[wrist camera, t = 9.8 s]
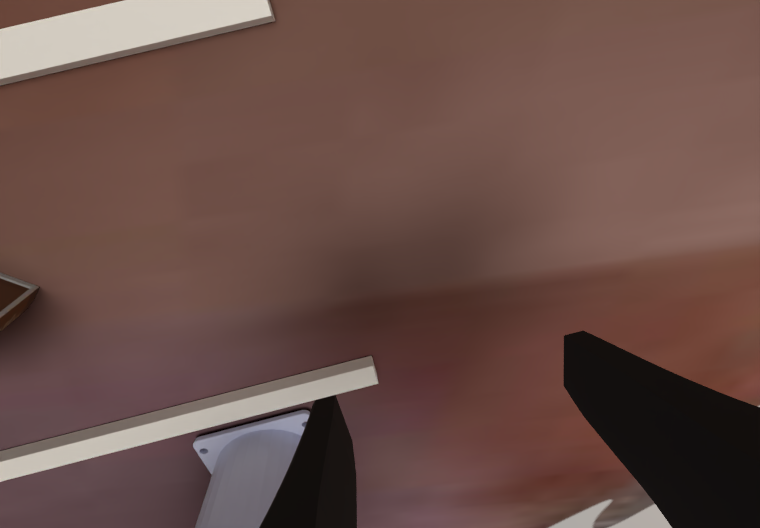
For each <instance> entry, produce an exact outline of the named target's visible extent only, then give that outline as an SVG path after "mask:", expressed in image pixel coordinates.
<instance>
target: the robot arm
mask: <svg viewBox="0 0 760 528" xmlns="http://www.w3.org/2000/svg"><path fill="white" fill-rule="evenodd" d="M564 387H565V388H566V390H567V391H568V393H569V395H570V396H571V398H572V399H573V401H574V402H575V404H576V405H577V407H578V408H579V410H580V411H581V413H582V414H583V416H584V417H585V418H586V420H587V421H588V422H589V423H590V425H591V426H592V427H593V428H594V429H595V431H596V432H597V433H598V434H599V436H600V437H601V438H602V439H603V440H604V442H605V443H606V444H607V445H608V446H609V448H610V449H611V450H612V451H613V452H614V454H615V455H616V456H617V457H618V458H619V460H620V461H621V462H622V463H623V464H624V466H625V467H626V468H627V469H628V470H629V472H630V473H631V474H632V475H633V476H634V478H635V479H636V480H637V481H638V482H639V484H640V485H641V486H642V487H643V489H644V490H645V491H646V492H647V494H648V495H649V496H650V498H651V499H652V500H653V501H654V503H655V504H656V505H657V507H658V508H659V510H660V511H661V512H662V514H663V515H664V517H665V518H666V519H667V521H668V522H669V524H670V525H671V526H672V528H760V407H757V406H754V405H751V404H748V403H746V402H743V401H740V400H737V399H735V398H732V397H730V396H727V395H724V394H722V393H719V392H717V391H714V390H712V389H710V388H707V387H705V386H702V385H700V384H698V383H695V382H693V381H690V380H688V379H686V378H683V377H681V376H679V375H677V374H674V373H672V372H670V371H668V370H665V369H663V368H661V367H659V366H657V365H655V364H652V363H650V362H648V361H646V360H644V359H642V358H640V357H638V356H635V355H633V354H631V353H629V352H627V351H625V350H623V349H621V348H619V347H617V346H615V345H613V344H611V343H609V342H606V341H604V340H602V339H600V338H598V337H596V336H594V335H592V334H589V333H587V332H585V331H580V332H576V333H572V334H569V335H565V336H564ZM305 422H307V423H305ZM193 447H194V449H195V450H196V452H197V453H198V455H199V457H200V458H201V460H202V461H203V463H204V464H205V466H206V467H207V469H208V470H209V472H210V473H211V475H212V477H211V480H210V483H209V486H208V489H207V492H206V495H205V498H204V501H203V504H202V507H201V510H200V513H199V516H198V519H197V522H196V525H195V528H357V503H356V470H355V461H354V452H353V444H352V439H351V436H350V434H349V431H348V428H347V425H346V423H345V420H344V417H343V414H342V412H341V409H340V406H339V403H338V401H337V398H336V395H333V396H330V397H326V398H322V399H318V400H316V401H315V402H314V403H313V406H312V409H311V412H310V411H308V410H300V411H296V412H292V413H288V414H285V415H281V416H277V417H273V418H269V419H265V420H261V421H258V422H254V423H250V424H246V425H242V426H238V427H234V428H231V429H227V430H223V431H219V432H215V433H211V434H208V435H204V436H200V437H197V438H196V439H195V441H194V443H193ZM204 448H205V449H204Z"/></svg>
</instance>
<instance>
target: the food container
mask: <svg viewBox="0 0 760 528" xmlns="http://www.w3.org/2000/svg"><path fill="white" fill-rule="evenodd" d="M38 290H39V286H36V285H33V284H30V283H28V282H25V281H22V280H19V279H17V278H14V277H11V276H8V275H6V274H3V273H0V332H1V331H2V330H3V329H4V328H5V327H7V326H8V325H9V324H10V323H11V322H13V321H14V320H15V319H16V318H17V317H19V316H20V315H21V314H22V313H23V312H24V311H25V310H26V309H28V307H29V306H30V304H31V303H32V302H33V300H34V299H35V297H36V294H37V292H38Z"/></svg>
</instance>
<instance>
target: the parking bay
mask: <svg viewBox="0 0 760 528" xmlns="http://www.w3.org/2000/svg"><path fill="white" fill-rule="evenodd" d="M274 21H275V18H274V15H273V11H272V8H271V4H270V1H269V0H125V1H120V2H116V3H112V4H107V5H103V6H99V7H94V8H90V9H86V10H81V11H77V12H73V13H68V14H64V15H60V16H55V17H51V18H47V19H42V20H38V21H34V22H29V23H25V24H21V25H16V26H12V27H8V28H3V29H0V86H1V85H5V84H9V83H14V82H18V81H22V80H26V79H31V78H35V77H39V76H43V75H48V74H52V73H56V72H61V71H65V70H69V69H73V68H78V67H82V66H86V65H90V64H95V63H99V62H103V61H107V60H112V59H116V58H120V57H124V56H129V55H133V54H137V53H141V52H146V51H150V50H154V49H159V48H163V47H167V46H171V45H176V44H180V43H184V42H188V41H193V40H197V39H201V38H205V37H210V36H214V35H218V34H222V33H227V32H231V31H235V30H240V29H244V28H248V27H252V26H257V25H261V24H265V23H269V22H274ZM375 384H378V378H377V372H376V369H375V366H374V362H373V359H372V356H368V357H364V358H360V359H356V360H352V361H348V362H344V363H341V364H337V365H333V366H329V367H325V368H321V369H317V370H313V371H310V372H306V373H302V374H298V375H294V376H290V377H286V378H282V379H278V380H275V381H271V382H267V383H263V384H259V385H255V386H251V387H247V388H243V389H240V390H236V391H232V392H228V393H224V394H220V395H216V396H212V397H209V398H205V399H201V400H197V401H193V402H189V403H185V404H181V405H177V406H174V407H170V408H166V409H162V410H158V411H154V412H150V413H146V414H143V415H139V416H135V417H131V418H127V419H123V420H119V421H115V422H111V423H108V424H104V425H100V426H96V427H92V428H88V429H84V430H80V431H76V432H73V433H69V434H65V435H61V436H57V437H53V438H49V439H45V440H42V441H38V442H34V443H30V444H26V445H22V446H18V447H14V448H10V449H7V450H3V451H0V482H1V481H5V480H9V479H13V478H16V477H20V476H24V475H28V474H32V473H36V472H40V471H43V470H47V469H51V468H55V467H59V466H63V465H66V464H70V463H74V462H78V461H82V460H86V459H90V458H93V457H97V456H101V455H105V454H109V453H113V452H117V451H120V450H124V449H128V448H132V447H136V446H140V445H144V444H147V443H151V442H155V441H159V440H163V439H167V438H171V437H174V436H178V435H182V434H186V433H190V432H194V431H198V430H201V429H205V428H209V427H213V426H217V425H221V424H225V423H228V422H232V421H236V420H240V419H244V418H248V417H252V416H255V415H259V414H263V413H267V412H271V411H275V410H279V409H282V408H286V407H290V406H294V405H298V404H302V403H306V402H309V401H313V400H317V399H321V398H325V397H329V396H332V395H336V394H340V393H344V392H348V391H352V390H356V389H359V388H363V387H367V386H371V385H375Z"/></svg>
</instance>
